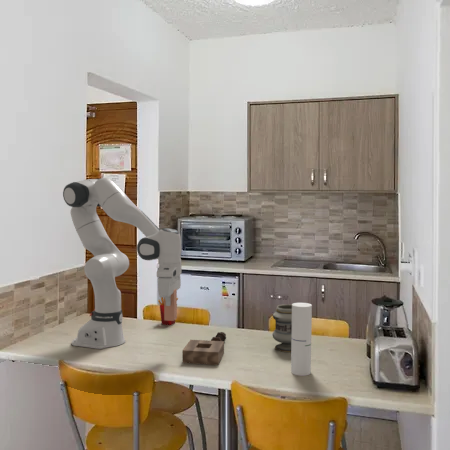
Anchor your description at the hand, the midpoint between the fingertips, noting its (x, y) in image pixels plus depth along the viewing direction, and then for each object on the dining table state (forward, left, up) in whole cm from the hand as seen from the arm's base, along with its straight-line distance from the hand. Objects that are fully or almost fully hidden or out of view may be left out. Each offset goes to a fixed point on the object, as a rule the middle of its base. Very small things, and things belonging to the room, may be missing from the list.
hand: (170, 304), depth 196 cm
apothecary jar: (+46, +18, -21) cm, 54 cm away
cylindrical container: (+52, -9, -21) cm, 57 cm away
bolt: (+17, +19, -22) cm, 33 cm away
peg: (0, 0, -6) cm, 6 cm away
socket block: (+14, 0, -21) cm, 25 cm away
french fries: (-13, +46, -21) cm, 53 cm away
